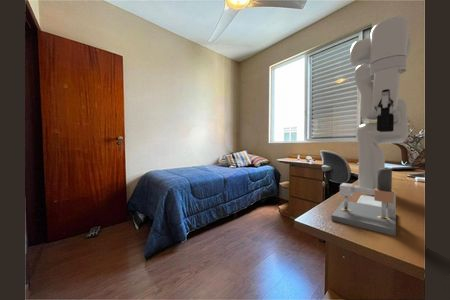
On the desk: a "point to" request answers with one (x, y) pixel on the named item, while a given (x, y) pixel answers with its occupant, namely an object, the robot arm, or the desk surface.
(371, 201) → the hard drive
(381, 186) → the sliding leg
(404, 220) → the desk surface
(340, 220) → the bolt plate
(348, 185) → the light grey bracket
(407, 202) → the desk surface
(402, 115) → the robot arm
